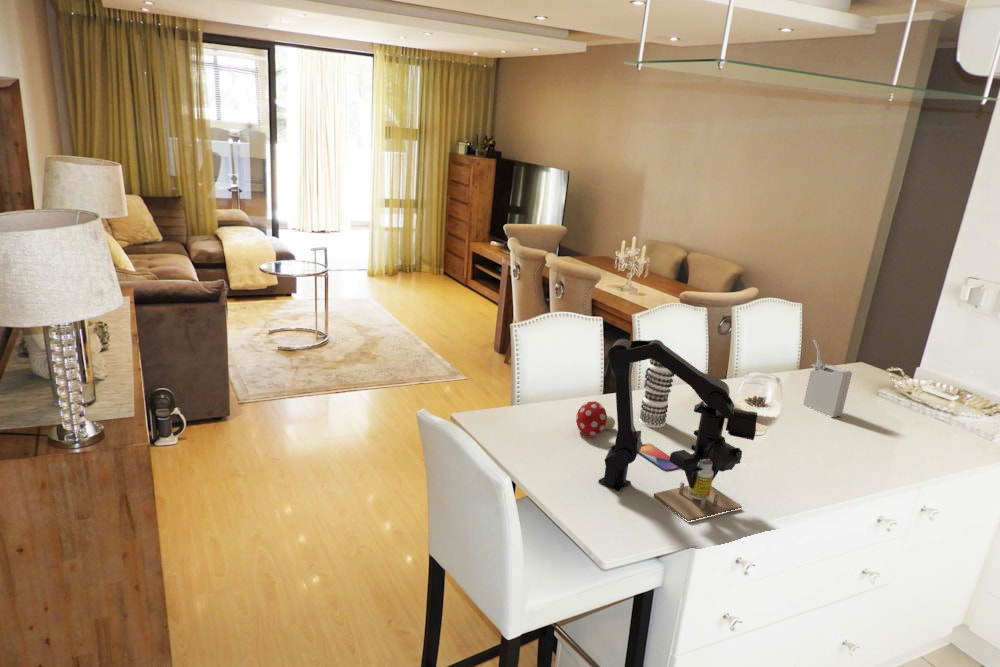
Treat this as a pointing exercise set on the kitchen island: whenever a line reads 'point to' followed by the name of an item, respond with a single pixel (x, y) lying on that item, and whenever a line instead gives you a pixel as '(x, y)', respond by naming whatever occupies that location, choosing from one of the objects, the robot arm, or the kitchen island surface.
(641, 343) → the robot arm
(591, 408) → the decorative mushroom
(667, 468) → the smartphone
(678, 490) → the pin tray
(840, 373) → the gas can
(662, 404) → the decorative candle
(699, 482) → the supplement bottle
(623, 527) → the kitchen island surface
